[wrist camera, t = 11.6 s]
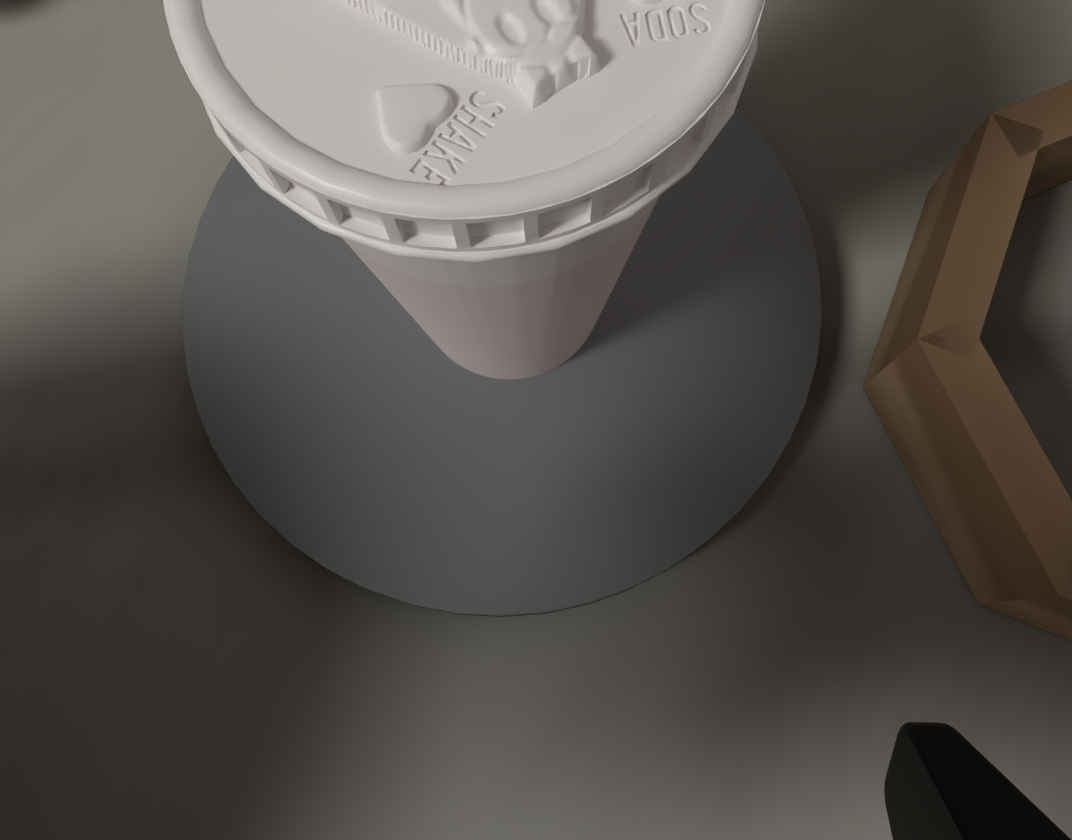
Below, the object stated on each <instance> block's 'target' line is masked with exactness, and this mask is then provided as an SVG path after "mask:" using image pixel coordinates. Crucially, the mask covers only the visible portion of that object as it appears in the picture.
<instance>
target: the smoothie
mask: <svg viewBox="0 0 1072 840" xmlns="http://www.w3.org/2000/svg"><path fill="white" fill-rule="evenodd" d="M163 2H164V10H165V15H166V19H167V23H168V27H169V31H170V35H171V38H172V41H173V43H174V46H175V49H176V51H177V54H178V56H179V59H180V62H181V63H182V65H183V67H184V69H185V71H186V73H187V75H188V77H189V79H190V81H191V83H192V85H193V86H194V88H195V89H196V91H197V92H198V94H199V95H200V97H201V98H202V101H203V103H204V106H205V108H206V111H207V113H208V116H209V118H210V121H211V123H212V125H213V128H214V130H215V133H216V135H217V136H218V137H219V138H220V139H221V141H222V142H223V143H224V144H225V146H226V147H227V148H228V149H229V150H230V152H231V153H232V154H233V155H234V157H235V158H236V159H237V160H238V161H239V163H240V164H241V165H242V166H243V168H244V169H245V170H246V171H247V172H248V174H249V175H250V176H251V177H252V178H253V180H254V181H255V182H256V183H257V185H258V186H259V187H260V188H261V189H262V190H264V191H265V192H267V193H268V194H269V195H271V196H272V197H274V198H275V199H277V200H278V201H280V202H281V203H283V204H284V205H285V206H287V207H288V208H290V209H291V210H293V211H294V212H296V213H297V214H299V215H300V216H302V217H303V218H304V219H306V220H307V221H309V222H310V223H312V224H313V225H315V226H316V227H318V228H319V229H321V230H322V231H325V232H328V233H330V234H333V235H336V236H339V237H342V239H343V240H344V241H345V242H346V243H347V244H348V245H349V246H350V248H351V249H352V250H353V251H354V252H355V253H356V254H357V255H358V257H359V258H360V259H361V260H362V261H363V262H364V263H365V265H366V266H367V267H368V268H369V269H370V270H371V271H372V272H373V274H374V275H375V276H376V277H377V278H378V279H379V280H380V281H381V283H382V284H383V285H384V286H385V287H386V288H387V289H388V290H389V292H390V293H391V294H392V295H393V296H394V297H395V298H396V299H397V301H398V302H399V303H400V304H401V305H402V306H403V307H404V309H405V310H406V311H407V312H408V313H409V314H410V315H411V316H412V318H413V319H414V320H415V321H416V322H417V323H418V324H419V325H420V327H421V328H422V329H423V330H424V331H425V332H426V333H427V334H428V336H429V337H430V338H431V339H432V340H433V341H434V342H435V343H436V345H437V346H438V347H439V348H440V349H441V350H442V351H443V352H444V353H445V354H446V355H447V356H448V357H449V358H450V359H451V360H453V361H454V362H455V363H457V364H458V365H460V366H462V367H463V368H465V369H467V370H469V371H471V372H474V373H476V374H479V375H482V376H486V377H490V378H496V379H522V378H528V377H533V376H536V375H540V374H543V373H545V372H547V371H550V370H552V369H554V368H556V367H557V366H559V365H561V364H562V363H564V362H565V361H567V360H568V359H569V358H570V357H571V356H573V355H574V354H575V353H576V352H577V351H578V350H579V349H580V348H581V346H582V345H583V344H584V343H585V341H586V340H587V338H588V337H589V335H590V333H591V332H592V330H593V328H594V326H595V324H596V322H597V320H598V318H599V316H600V314H601V312H602V310H603V308H604V306H605V304H606V302H607V300H608V298H609V296H610V294H611V292H612V290H613V288H614V286H615V284H616V282H617V280H618V278H619V276H620V274H621V272H622V270H623V268H624V266H625V264H626V262H627V260H628V258H629V256H630V254H631V252H632V250H633V248H634V246H635V244H636V242H637V240H638V238H639V236H640V234H641V232H642V230H643V228H644V226H645V224H646V222H647V220H648V218H649V216H650V214H651V212H652V210H653V208H654V206H655V204H656V202H657V200H658V198H659V196H660V195H661V194H662V193H664V192H665V191H666V190H667V189H669V188H670V187H671V186H673V185H674V184H675V183H677V182H678V181H679V180H680V179H682V178H683V177H684V176H686V175H687V174H688V173H690V171H691V170H692V169H693V167H694V166H695V165H696V163H697V162H698V161H699V159H700V158H701V157H702V155H703V154H704V153H705V151H706V150H707V149H708V147H709V146H710V145H711V143H712V142H713V141H714V139H715V138H716V137H717V135H718V134H719V133H720V131H721V130H722V129H723V127H724V126H725V124H726V123H727V122H728V120H729V119H730V118H731V116H732V115H733V114H734V111H735V108H736V106H737V103H738V100H739V97H740V95H741V92H742V89H743V87H744V84H745V81H746V78H747V76H748V73H749V70H750V68H751V65H752V62H753V60H754V57H755V54H756V51H757V47H758V27H759V22H760V18H761V14H762V10H763V7H764V3H765V0H163Z"/></svg>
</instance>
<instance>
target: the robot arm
mask: <svg viewBox="0 0 1072 840" xmlns="http://www.w3.org/2000/svg"><path fill="white" fill-rule="evenodd" d="M884 792H885V803H886V809H887V814H888V818H889V823H890V828H891V832H892V837H893V840H1071V839H1070V838H1069V837H1068V836H1067V835H1066V834H1065V833H1064V832H1063V831H1061V830H1060V829H1059V828H1058V827H1057V826H1056V825H1055V824H1054V823H1053V822H1052V821H1051V820H1050V819H1049V818H1048V817H1047V816H1046V815H1045V814H1044V813H1043V812H1042V811H1041V810H1039V809H1038V808H1037V807H1036V806H1035V805H1034V804H1033V803H1032V802H1031V801H1030V800H1029V799H1028V798H1027V797H1026V796H1025V795H1024V794H1023V793H1022V792H1021V791H1020V790H1019V789H1017V788H1016V787H1015V786H1014V785H1013V784H1012V783H1011V782H1010V781H1009V780H1008V779H1007V778H1006V777H1005V776H1004V775H1003V774H1002V773H1001V772H1000V771H999V770H998V769H997V768H995V767H994V766H993V765H992V764H991V763H990V762H989V761H988V760H987V759H986V758H985V757H984V756H983V755H982V754H981V753H980V752H979V751H978V750H977V749H976V748H975V747H974V746H972V745H971V744H970V743H969V742H968V741H967V740H966V739H965V738H964V737H963V736H962V735H961V734H960V733H959V732H958V731H957V730H955V729H954V728H953V727H951V726H949V725H947V724H945V723H930V722H909V723H905V724H904V725H903V726H902V727H901V728H900V730H899V732H898V735H897V738H896V742H895V745H894V749H893V753H892V756H891V760H890V764H889V767H888V771H887V774H886V779H885V787H884Z"/></svg>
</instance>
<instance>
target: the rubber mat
mask: <svg viewBox="0 0 1072 840" xmlns="http://www.w3.org/2000/svg"><path fill="white" fill-rule="evenodd" d="M820 332H821V282H820V276H819V269H818V263H817V256H816V250H815V245H814V241H813V238H812V235H811V231H810V228H809V225H808V221H807V218H806V215H805V211H804V208H803V206H802V204H801V202H800V200H799V197H798V195H797V193H796V191H795V189H794V186H793V184H792V182H791V180H790V178H789V176H788V173H787V172H786V170H785V169H784V167H783V166H782V164H781V162H780V161H779V159H778V158H777V156H776V154H775V153H774V151H773V150H772V148H771V147H770V145H769V143H768V142H767V140H766V139H765V138H764V137H763V136H762V134H761V133H760V132H759V131H758V130H757V128H756V127H755V126H754V125H753V124H752V122H751V121H750V120H749V119H748V118H747V116H746V115H745V114H744V113H743V112H742V111H741V110H740V109H739V108H738V107H737V106H736V108H735V111H734V114H733V115H732V116H731V118H730V119H729V120H728V122H727V123H726V124H725V126H724V127H723V129H722V130H721V131H720V133H719V134H718V135H717V137H716V138H715V139H714V141H713V142H712V143H711V145H710V146H709V147H708V149H707V150H706V151H705V153H704V154H703V155H702V157H701V158H700V159H699V161H698V162H697V163H696V165H695V166H694V167H693V169H692V170H691V171H690V173H688V174H687V175H686V176H684V177H683V178H682V179H680V180H679V181H678V182H677V183H675V184H674V185H673V186H671V187H670V188H669V189H667V190H666V191H665V192H664V193H662V194H661V195H660V196H659V198H658V200H657V202H656V204H655V206H654V208H653V210H652V212H651V214H650V216H649V218H648V220H647V222H646V224H645V226H644V228H643V230H642V232H641V234H640V236H639V238H638V240H637V242H636V244H635V246H634V248H633V250H632V252H631V254H630V256H629V258H628V260H627V262H626V264H625V266H624V268H623V270H622V272H621V274H620V276H619V278H618V280H617V282H616V284H615V286H614V288H613V290H612V292H611V294H610V296H609V298H608V300H607V302H606V304H605V306H604V308H603V310H602V312H601V314H600V316H599V318H598V320H597V322H596V324H595V326H594V328H593V330H592V332H591V333H590V335H589V337H588V338H587V340H586V341H585V343H584V344H583V345H582V346H581V348H580V349H579V350H578V351H577V352H576V353H575V354H574V355H573V356H571V357H570V358H569V359H568V360H567V361H565V362H564V363H562V364H561V365H559V366H557V367H556V368H554V369H552V370H550V371H547V372H545V373H543V374H540V375H536V376H533V377H528V378H522V379H496V378H490V377H486V376H482V375H479V374H476V373H474V372H471V371H469V370H467V369H465V368H463V367H462V366H460V365H458V364H457V363H455V362H454V361H453V360H451V359H450V358H449V357H448V356H447V355H446V354H445V353H444V352H443V351H442V350H441V349H440V348H439V347H438V346H437V345H436V343H435V342H434V341H433V340H432V339H431V338H430V337H429V336H428V334H427V333H426V332H425V331H424V330H423V329H422V328H421V327H420V325H419V324H418V323H417V322H416V321H415V320H414V319H413V318H412V316H411V315H410V314H409V313H408V312H407V311H406V310H405V309H404V307H403V306H402V305H401V304H400V303H399V302H398V301H397V299H396V298H395V297H394V296H393V295H392V294H391V293H390V292H389V290H388V289H387V288H386V287H385V286H384V285H383V284H382V283H381V281H380V280H379V279H378V278H377V277H376V276H375V275H374V274H373V272H372V271H371V270H370V269H369V268H368V267H367V266H366V265H365V263H364V262H363V261H362V260H361V259H360V258H359V257H358V255H357V254H356V253H355V252H354V251H353V250H352V249H351V248H350V246H349V245H348V244H347V243H346V242H345V241H344V240H343V239H342V237H339V236H336V235H333V234H330V233H328V232H325V231H322V230H321V229H319V228H318V227H316V226H315V225H313V224H312V223H310V222H309V221H307V220H306V219H304V218H303V217H302V216H300V215H299V214H297V213H296V212H294V211H293V210H291V209H290V208H288V207H287V206H285V205H284V204H283V203H281V202H280V201H278V200H277V199H275V198H274V197H272V196H271V195H269V194H268V193H267V192H265V191H264V190H262V189H261V188H260V187H259V186H258V185H257V183H256V182H255V181H254V180H253V178H252V177H251V176H250V175H249V174H248V172H247V171H246V170H245V169H244V168H243V166H242V165H241V164H240V163H239V161H238V160H237V159H236V158H235V157H234V156H233V158H232V159H231V161H230V162H229V164H228V166H227V167H226V169H225V171H224V172H223V174H222V175H221V177H220V179H219V180H218V182H217V184H216V186H215V188H214V190H213V192H212V195H211V197H210V199H209V201H208V203H207V206H206V208H205V210H204V212H203V214H202V216H201V219H200V222H199V226H198V229H197V232H196V235H195V239H194V242H193V245H192V249H191V252H190V255H189V261H188V267H187V273H186V280H185V286H184V292H183V324H182V334H183V343H184V352H185V360H186V369H187V374H188V378H189V382H190V386H191V390H192V393H193V397H194V401H195V405H196V409H197V412H198V414H199V416H200V419H201V421H202V424H203V426H204V428H205V431H206V433H207V435H208V438H209V440H210V443H211V445H212V447H213V449H214V451H215V452H216V454H217V456H218V457H219V459H220V461H221V462H222V464H223V466H224V467H225V469H226V471H227V472H228V474H229V476H230V477H231V479H232V481H233V482H234V484H235V485H236V486H237V487H238V489H239V490H240V491H241V492H242V494H243V495H244V496H245V497H246V499H247V500H248V501H249V502H250V503H251V505H252V506H253V507H254V508H255V510H256V511H257V512H258V513H259V515H260V516H261V517H262V518H264V519H265V520H266V521H267V522H268V523H269V524H270V525H271V526H272V527H273V528H274V529H275V530H277V531H278V532H279V533H280V534H281V535H282V536H283V537H284V538H285V539H286V540H287V541H288V542H289V543H291V544H292V545H293V546H295V547H296V548H298V549H299V550H300V551H302V552H303V553H305V554H306V555H308V556H309V557H310V558H312V559H313V560H315V561H316V562H318V563H319V564H321V565H322V566H323V567H325V568H326V569H328V570H330V571H332V572H334V573H336V574H338V575H340V576H342V577H344V578H346V579H348V580H350V581H352V582H354V583H356V584H358V585H360V586H362V587H364V588H366V589H368V590H371V591H374V592H377V593H380V594H383V595H386V596H389V597H392V598H394V599H397V600H400V601H403V602H406V603H409V604H412V605H415V606H419V607H424V608H430V609H435V610H440V611H445V612H450V613H455V614H463V615H480V616H496V617H506V616H519V615H533V614H545V613H550V612H555V611H559V610H564V609H569V608H574V607H579V606H583V605H587V604H590V603H593V602H596V601H599V600H602V599H604V598H607V597H610V596H613V595H616V594H619V593H621V592H624V591H627V590H629V589H631V588H633V587H635V586H637V585H639V584H641V583H643V582H645V581H646V580H648V579H650V578H652V577H654V576H656V575H658V574H660V573H662V572H664V571H666V570H667V569H669V568H670V567H671V566H673V565H674V564H676V563H677V562H679V561H680V560H681V559H683V558H684V557H686V556H687V555H689V554H690V553H691V552H693V551H694V550H696V549H697V548H699V547H700V546H701V545H703V544H704V543H705V542H707V541H708V540H709V539H710V538H711V537H712V536H713V535H714V534H715V533H717V532H718V531H719V530H720V529H721V528H722V527H723V526H724V525H725V524H726V523H727V522H728V521H730V520H731V519H732V518H733V517H734V516H735V515H736V514H737V513H738V512H739V511H740V510H741V509H742V508H743V506H744V505H745V504H746V503H747V502H748V500H749V499H750V498H751V497H752V495H753V494H754V493H755V492H756V491H757V489H758V488H759V487H760V486H761V485H762V483H763V482H764V481H765V480H766V478H767V477H768V475H769V474H770V472H771V470H772V469H773V467H774V466H775V464H776V462H777V461H778V459H779V457H780V456H781V454H782V452H783V451H784V449H785V448H786V446H787V444H788V443H789V441H790V438H791V436H792V434H793V431H794V429H795V427H796V425H797V422H798V420H799V418H800V415H801V413H802V411H803V408H804V406H805V404H806V400H807V397H808V393H809V389H810V386H811V382H812V378H813V375H814V371H815V367H816V363H817V355H818V348H819V340H820Z"/></svg>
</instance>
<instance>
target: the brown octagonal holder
mask: <svg viewBox="0 0 1072 840" xmlns="http://www.w3.org/2000/svg"><path fill="white" fill-rule="evenodd" d="M1070 180H1072V81H1070V82H1067V83H1065V84H1062V85H1060V86H1057V87H1055V88H1052V89H1050V90H1047V91H1045V92H1042V93H1040V94H1037V95H1035V96H1032V97H1030V98H1027V99H1025V100H1022V101H1020V102H1017V103H1015V104H1013V105H1010V106H1008V107H1005V108H1003V109H1000V110H998V111H995V112H993V113H991V114H990V115H989V117H988V118H987V119H986V120H985V122H984V123H983V124H982V125H981V127H980V128H979V129H978V130H977V132H976V133H975V134H974V135H973V137H972V138H971V139H970V140H969V142H968V143H967V144H966V145H965V147H964V148H963V149H962V150H961V152H960V153H959V154H958V155H957V157H956V158H955V159H954V160H953V162H952V163H951V164H950V165H949V167H948V168H947V169H946V170H945V172H944V173H943V174H942V175H941V177H940V178H939V179H938V180H937V182H936V183H935V184H934V185H933V187H932V188H931V189H930V190H929V193H928V196H927V198H926V201H925V204H924V207H923V210H922V213H921V216H920V219H919V222H918V225H917V228H916V231H915V234H914V237H913V240H912V243H911V246H910V249H909V252H908V255H907V258H906V261H905V264H904V267H903V269H902V272H901V275H900V278H899V281H898V284H897V287H896V290H895V293H894V296H893V299H892V302H891V305H890V308H889V311H888V314H887V317H886V320H885V323H884V326H883V329H882V332H881V335H880V338H879V340H878V343H877V346H876V349H875V352H874V355H873V358H872V361H871V364H870V367H869V370H868V373H867V376H866V379H865V382H864V385H863V388H864V390H865V392H866V394H867V396H868V397H869V399H870V401H871V403H872V405H873V407H874V409H875V411H876V412H877V414H878V416H879V418H880V420H881V422H882V424H883V426H884V428H885V429H886V431H887V433H888V435H889V437H890V439H891V441H892V443H893V444H894V446H895V448H896V450H897V452H898V454H899V456H900V458H901V460H902V461H903V463H904V465H905V467H906V469H907V471H908V473H909V475H910V476H911V478H912V480H913V482H914V484H915V486H916V488H917V490H918V492H919V493H920V495H921V497H922V499H923V501H924V503H925V505H926V507H927V508H928V510H929V512H930V514H931V516H932V518H933V520H934V522H935V523H936V525H937V527H938V529H939V531H940V533H941V535H942V537H943V539H944V540H945V542H946V544H947V546H948V548H949V550H950V552H951V554H952V555H953V557H954V559H955V561H956V563H957V565H958V567H959V569H960V571H961V572H962V574H963V576H964V578H965V580H966V582H967V584H968V586H969V587H970V589H971V591H972V593H973V595H974V597H975V599H976V601H977V602H978V604H979V605H981V606H984V607H986V608H989V609H992V610H994V611H997V612H999V613H1002V614H1004V615H1007V616H1009V617H1012V618H1015V619H1017V620H1020V621H1022V622H1025V623H1027V624H1030V625H1032V626H1035V627H1038V628H1040V629H1043V630H1045V631H1048V632H1050V633H1053V634H1055V635H1058V636H1060V637H1063V638H1066V639H1068V640H1071V641H1072V499H1071V498H1070V496H1069V494H1068V493H1067V491H1066V489H1065V487H1064V486H1063V484H1062V482H1061V480H1060V479H1059V477H1058V475H1057V473H1056V472H1055V470H1054V468H1053V466H1052V465H1051V463H1050V461H1049V459H1048V458H1047V456H1046V454H1045V452H1044V451H1043V449H1042V447H1041V445H1040V444H1039V442H1038V440H1037V438H1036V437H1035V435H1034V433H1033V431H1032V430H1031V428H1030V426H1029V424H1028V423H1027V421H1026V419H1025V417H1024V416H1023V414H1022V412H1021V410H1020V409H1019V407H1018V405H1017V403H1016V402H1015V400H1014V398H1013V397H1012V395H1011V393H1010V391H1009V390H1008V388H1007V386H1006V384H1005V383H1004V381H1003V379H1002V377H1001V376H1000V374H999V372H998V370H997V369H996V367H995V365H994V363H993V362H992V360H991V358H990V356H989V355H988V353H987V351H986V349H985V348H984V346H983V344H982V342H981V341H980V339H979V338H980V335H981V331H982V328H983V325H984V322H985V319H986V315H987V312H988V309H989V306H990V302H991V299H992V296H993V293H994V290H995V286H996V283H997V280H998V277H999V274H1000V270H1001V267H1002V264H1003V261H1004V258H1005V254H1006V251H1007V248H1008V245H1009V241H1010V238H1011V235H1012V232H1013V229H1014V225H1015V222H1016V219H1017V216H1018V213H1019V209H1020V206H1021V203H1022V200H1024V199H1026V198H1029V197H1031V196H1034V195H1036V194H1039V193H1041V192H1043V191H1046V190H1048V189H1051V188H1053V187H1056V186H1058V185H1060V184H1063V183H1065V182H1068V181H1070Z"/></svg>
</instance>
